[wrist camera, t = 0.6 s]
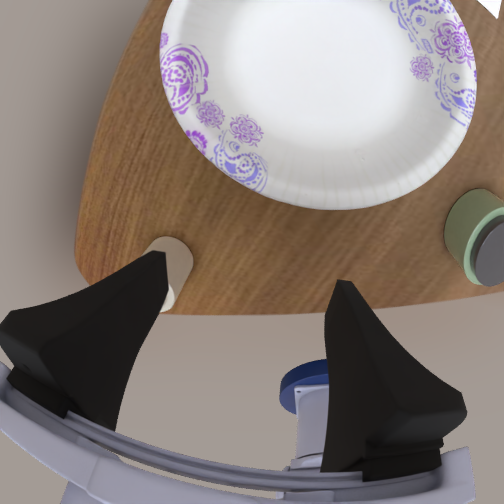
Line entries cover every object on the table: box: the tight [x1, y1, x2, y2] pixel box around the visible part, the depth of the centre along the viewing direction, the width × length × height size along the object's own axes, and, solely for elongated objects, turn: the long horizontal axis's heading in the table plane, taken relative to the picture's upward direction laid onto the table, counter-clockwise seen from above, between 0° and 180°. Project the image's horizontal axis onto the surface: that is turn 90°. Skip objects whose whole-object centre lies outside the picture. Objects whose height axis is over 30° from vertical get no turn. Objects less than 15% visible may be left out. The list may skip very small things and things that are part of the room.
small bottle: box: [142, 236, 193, 312], centre depth 22 cm, size 4×4×7 cm
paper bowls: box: [160, 0, 477, 210], centre depth 12 cm, size 15×15×8 cm
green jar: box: [444, 189, 504, 286], centre depth 17 cm, size 7×7×5 cm
